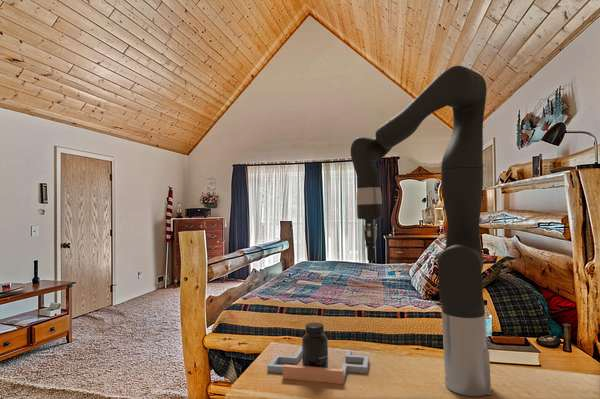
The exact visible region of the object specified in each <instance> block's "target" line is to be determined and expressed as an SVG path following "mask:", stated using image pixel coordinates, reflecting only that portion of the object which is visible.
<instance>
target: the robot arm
mask: <svg viewBox="0 0 600 399" xmlns="http://www.w3.org/2000/svg"><path fill="white" fill-rule="evenodd" d="M487 90H488V87H487V82H486V80H485V78H484V76H482V75H481V73H479V72H478V71H477V72H476V71H475V70H473V69H470V68H468V67H466V66H463V65H454V66H450V67H449V68H447V69H445V70H444V71H442V72H441V73H440V74H439V75H438V76H437V77H436V78H435V79H434V80H433V81H431V83H430V84H429V85H427V87H426V88H425V89H423V90H422V92H420V93H419V94H418V95H417V96H416V98H414V99H413V100H412V101H411V102H410V103H409V104H408V105H407V106H406V107H405V108H404V109H402V110H401V111H399V112H398V113H397V114H396V115H394V116H393V117H391V118H390V119H389V120H388V121H385V123H383V124H382V125H380V126H379V127H378V128H377V129H376V131H375V137H374V138H372V137H364V136H359V137H355V139H354V140H353V141H352V143H351V146H350V156H351V161H352V165H353V168H354V171H355V174H356V188H357V189H356V214H357V215H356V217H357V219H358V220H365V221H364V222H365V224H364V225H362V228H363V229H362V231H363V235H364V236H363V237H364V241H365V248H366V254H367V255H366V257H367V261H368V262H374V261H375V260H376V250H375V249H376V244H377V243H376V240H377V236H378V235H377V231H378V225H377V224H375V220H379V219H380V220H381V219H382V218H383V197H382V190H381V173H380V171H379V169H377V168H374V166H373V165H372V162H373V163H374V162H377V161H379V160H381V159H383V158H384V157H385V156H386V155H387V154H388V153H389V152H390V151H391V150H392V149H393V148H394V147H395V146H397V145H398V144H400V143H402V142H403V141H405V140H406V139H407V138H409V137H411V136H412V135H413V134H414V133H415V132H416V131H417V129H418V128H419V126H421V124H422V123H423V121H424V120H425V119H426V118H427V117H428V116H430V115H432V114H433V113H435V112H437V111H439V110H440V109H443V108H444V107H447V106H448V107H449V108H450V107H451V108H452V119H453V120H452V121H453V122H452V124H453V125H452V134H451V137H450V140H449V142H448V145H447V147H446V148H445V151H444V154H443V157H442V159H441V164H440V165H441V166H440V167H441V168H440V169H441V170H440V180H441V181H440V182H441V184H440V186H441V196H442V201H443V202H442V203H443V208H444V212H445V216H446V242H445V248H444V249H443V250H442V252H441V253H440V254H439V257H438V261H437V276H438V278H437V279H438V292H439V294H438V295H439V300H440V303H441V317H442V319H441V320H442V322H441V323H442V340H443V341H442V343H443V364H444V365H443V366H444V382H445V383H444V384H445V387H446V388H447V389H448V390H450V391H452V392H453V393H456V394H458V395H462V396H467V397H482V396H486V395H489V396H491V395H492V382H491V381H492V380H491V362H490V361H491V360H490V351H489V349H488V348H487V335H486V334H487V331H486V330H487V329H486V311H485V309H486V308H485V300H484V294H483V292H484V291H483V290H484V289H483V269H484V258H483V252H482V251H483V250H482V242H481V234H480V232H481V231H480V230H481V229H480V220H481V219H480V218H481V214H482V213H481V212H482V205H483V191H484V190H483V189H484V154H483V153H484V136H483V135H484V130H483V128H484V119H485V109H486V101H487V100H486V99H487V92H488V91H487Z"/></svg>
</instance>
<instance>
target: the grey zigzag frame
mask: <svg viewBox="0 0 600 399" xmlns="http://www.w3.org/2000/svg"><path fill="white" fill-rule="evenodd" d="M301 359H302V345H301V346H300V347H299V348H298V350H297V351H296V352H295V354H294V356H292V355H284V354H283V355H282V354H281V355H279V354H276V355H275V356H274V357H273V358H272V360H271V361H269V363H268V364H267V372H269V373H278V374H279V373H280V374H281V373H282V379H284V380H285V379H286V380H296V381H305V382H306V381H307V382H318V383H326V382H327V383H328V384H339V385H344V383H345V380H346V377H347V373H357V372H359V373H360V374H368V370H369V363H370V355H369V356H368V355H356V354H353V352H352V349H347V350H346V353H345V358H344V359H345V362H346V363H342V365H341V368H331V367H328V368H321V367H309V366H302V365H297V364H298V363H299V361H300V360H301ZM280 363H283V364H280ZM351 363H359V364H351ZM294 364H295V365H294Z"/></svg>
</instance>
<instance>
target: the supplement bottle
mask: <svg viewBox="0 0 600 399" xmlns="http://www.w3.org/2000/svg"><path fill="white" fill-rule="evenodd" d="M324 326H325V325H324V324H323V323H320V322H309V323H308V322H307V323H306V324H305V334H304V335H303V336H302V338H301V346H302V357H301V359H302V361H301V362H302V365H301V366H309V367H321V368H329V350H328V349H329V347H328V346H329V342H328V337H327V335H326V334H324V332H325V330H324V328H325V327H324Z"/></svg>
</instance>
